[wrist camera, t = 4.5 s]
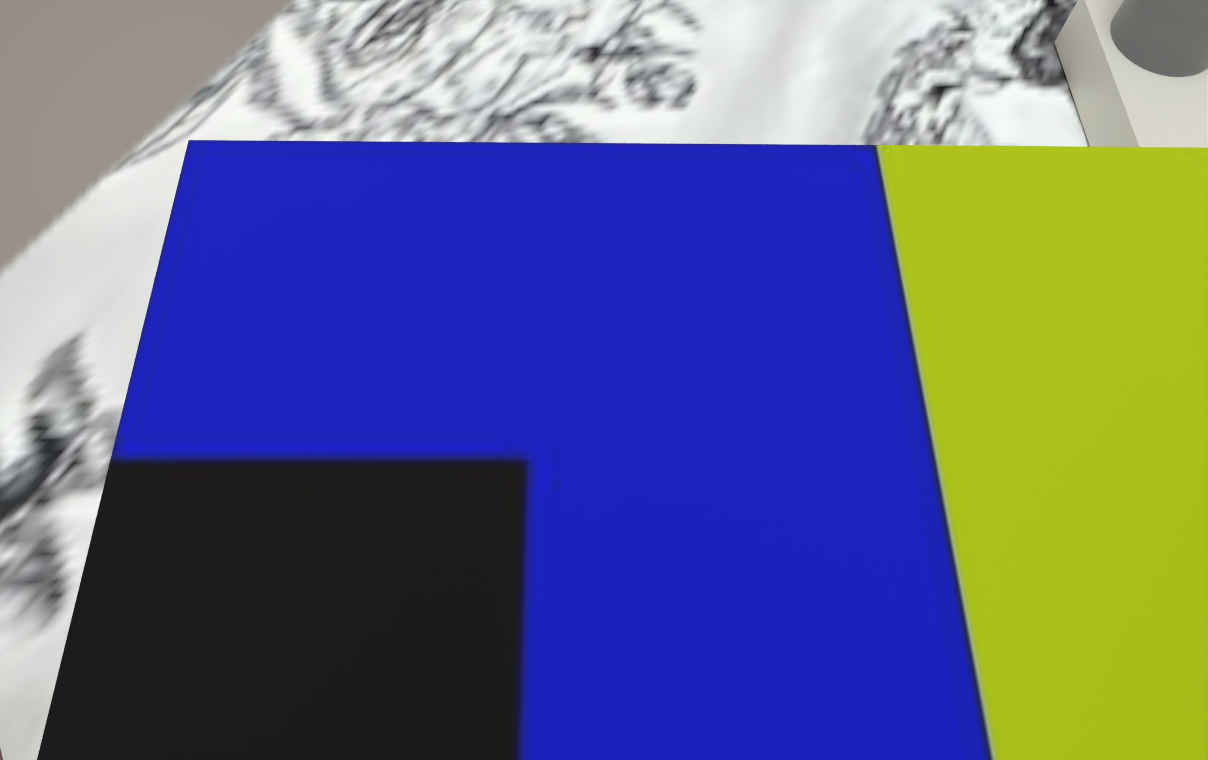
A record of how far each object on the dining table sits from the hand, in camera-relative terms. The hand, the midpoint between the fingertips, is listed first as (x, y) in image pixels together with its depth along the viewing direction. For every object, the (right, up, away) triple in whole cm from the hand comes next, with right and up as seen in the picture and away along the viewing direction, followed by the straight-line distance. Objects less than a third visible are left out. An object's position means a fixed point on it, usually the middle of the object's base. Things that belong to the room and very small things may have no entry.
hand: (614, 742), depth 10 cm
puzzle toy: (+1, -3, +6) cm, 6 cm away
